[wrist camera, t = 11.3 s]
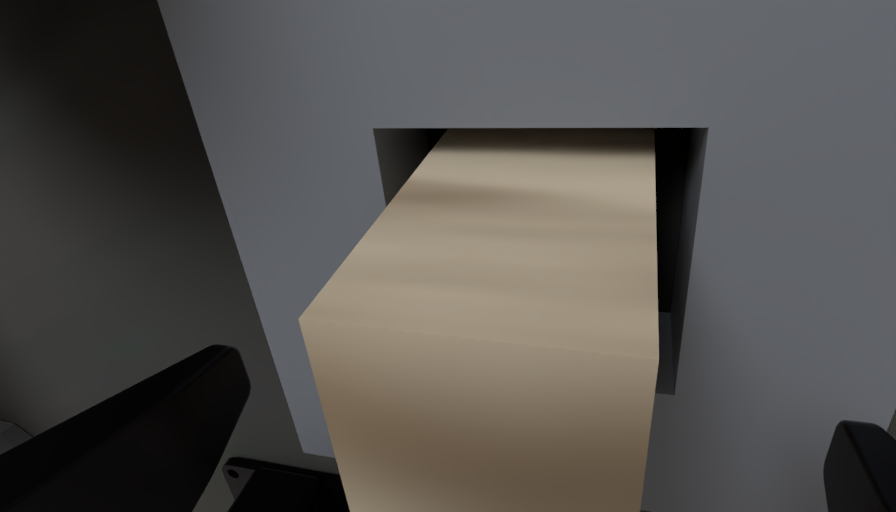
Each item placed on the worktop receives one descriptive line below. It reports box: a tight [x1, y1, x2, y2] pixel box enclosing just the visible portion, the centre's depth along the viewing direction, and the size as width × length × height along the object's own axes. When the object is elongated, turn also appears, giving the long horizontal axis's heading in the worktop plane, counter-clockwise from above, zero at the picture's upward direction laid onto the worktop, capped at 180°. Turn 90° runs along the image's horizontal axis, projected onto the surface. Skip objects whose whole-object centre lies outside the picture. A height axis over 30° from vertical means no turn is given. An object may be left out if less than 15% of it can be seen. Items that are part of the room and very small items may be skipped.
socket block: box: [157, 0, 896, 512], centre depth 13 cm, size 14×14×3 cm
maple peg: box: [298, 128, 659, 512], centre depth 12 cm, size 4×4×8 cm
